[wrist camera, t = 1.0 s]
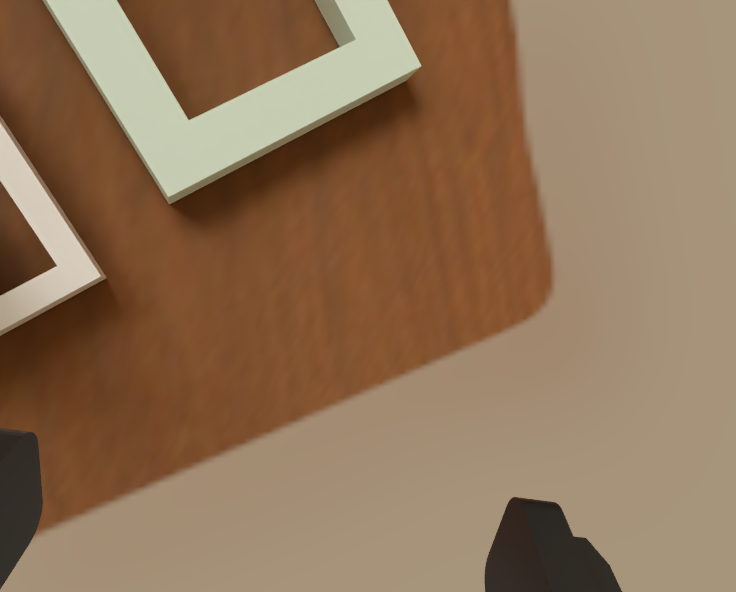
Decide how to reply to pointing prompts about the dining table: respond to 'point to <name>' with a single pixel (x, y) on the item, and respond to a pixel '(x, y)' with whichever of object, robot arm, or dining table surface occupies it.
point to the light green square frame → (244, 113)
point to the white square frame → (56, 233)
